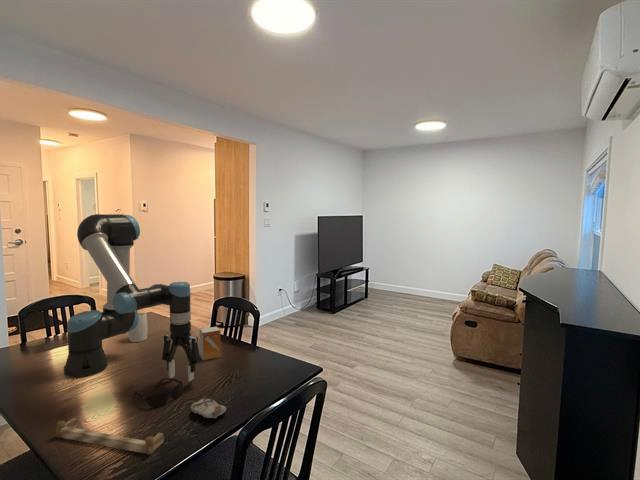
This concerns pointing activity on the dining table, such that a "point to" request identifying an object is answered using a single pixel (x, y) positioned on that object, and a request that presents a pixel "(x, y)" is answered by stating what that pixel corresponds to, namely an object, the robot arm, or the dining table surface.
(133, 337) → the cup
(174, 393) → the sunglasses
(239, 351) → the dining table surface
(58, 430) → the beige long bar
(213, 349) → the small box
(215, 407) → the stone
